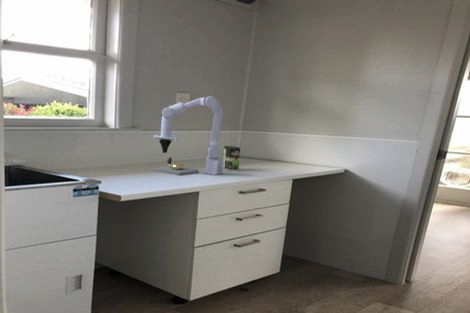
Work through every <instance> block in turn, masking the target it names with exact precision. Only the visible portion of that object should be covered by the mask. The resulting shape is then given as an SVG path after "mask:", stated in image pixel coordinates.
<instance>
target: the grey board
mask: <svg viewBox="0 0 470 313" xmlns="http://www.w3.org/2000/svg"><path fill="white" fill-rule="evenodd" d="M152 171H155V172H158V173H159V172H160V173H165V174H170V175H176V176H185V175H192V174H198V173H199V169H194V168H188V167H185V166H183V169H182V170H176V169H172V166H168V165H166V166H157V167H153V168H152Z"/></svg>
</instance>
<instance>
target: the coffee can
mask: <svg viewBox="0 0 470 313" xmlns="http://www.w3.org/2000/svg"><path fill="white" fill-rule="evenodd" d="M240 155H241V147H239V146H232V145H231V146H230V145H225V146H223V158H222V161H223V170H224V171H231V172H232V171H233V172H234V171H239V167H240Z"/></svg>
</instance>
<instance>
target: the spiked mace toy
mask: <svg viewBox="0 0 470 313" xmlns="http://www.w3.org/2000/svg"><path fill="white" fill-rule="evenodd" d="M166 162H167V166H172V169H176V170H182V169H183V168H184V163H182V162H180V163H179V162H173V158H172V157H171V156H169V157H167V161H166Z"/></svg>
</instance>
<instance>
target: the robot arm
mask: <svg viewBox="0 0 470 313" xmlns="http://www.w3.org/2000/svg"><path fill="white" fill-rule="evenodd" d="M196 106H206V107H207V108H209V109H210V110H211V111H212V113H214V114H213V120H212V121H213V122H212V127H211V135H210V141H209V146H208V147H207V150H206V151H207V152H206V153H207V156H206V159H205V171H202V173H203V174H208V175H215V176H217V175H223V174H224V172H223V170H224V169H223V159H221V158H220V157H219V155H220V151H219V143H220V142H219V141H220V134H221V128H222V119H223V112H224V111H223V109H222V107H221V105H220V103H219V100H218V99H217V98H216V97H215V96H214V95H213V96H212V95H209V96H205V97H199V98H196V99H194V100H191V101H188V102H186V103H183V102H180V101H178V102H176V103H175V104H173V105H171V104H170V105H168V107H164V108H163V109H162V110H161V115H162V117H161V124H160V135H157V134H154V135H153V139H154V140H159V144H160V145H161V146H160V147H161V150H162V153H163V154H165V153H166V154H167V153H168V149H169V147H170V145H171V143H172V142H178V140H179V139H178V137H176V136H172V125H173V124H172V116H177V115H180V114H183V113H185V112H186V110H187V109H190V108H193V107H194V108H195V107H196Z"/></svg>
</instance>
